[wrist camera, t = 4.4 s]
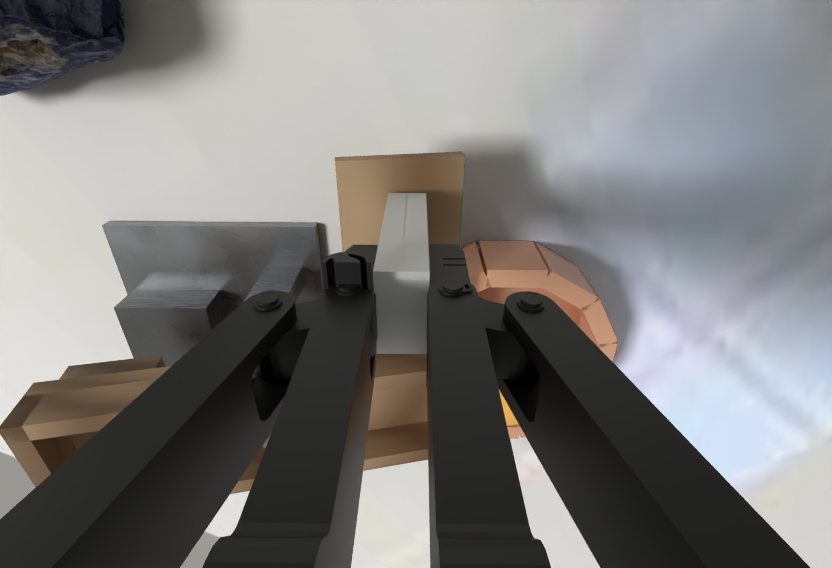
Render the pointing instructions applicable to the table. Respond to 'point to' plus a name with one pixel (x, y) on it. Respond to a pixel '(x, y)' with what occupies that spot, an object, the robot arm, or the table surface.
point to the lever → (386, 440)
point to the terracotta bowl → (538, 287)
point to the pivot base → (204, 276)
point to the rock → (55, 38)
